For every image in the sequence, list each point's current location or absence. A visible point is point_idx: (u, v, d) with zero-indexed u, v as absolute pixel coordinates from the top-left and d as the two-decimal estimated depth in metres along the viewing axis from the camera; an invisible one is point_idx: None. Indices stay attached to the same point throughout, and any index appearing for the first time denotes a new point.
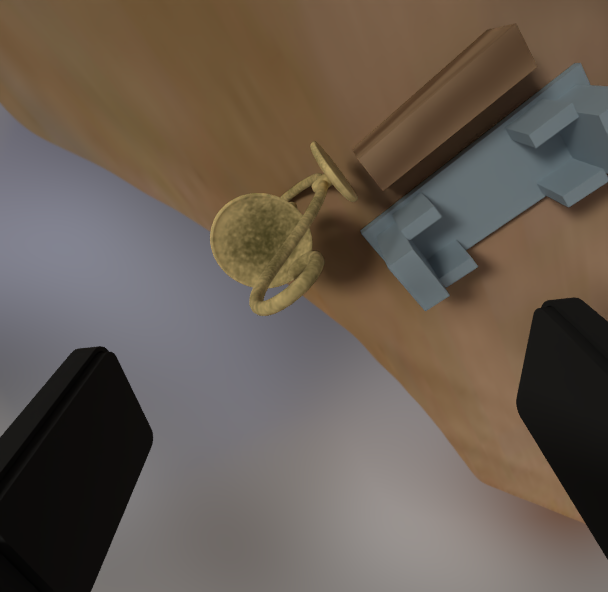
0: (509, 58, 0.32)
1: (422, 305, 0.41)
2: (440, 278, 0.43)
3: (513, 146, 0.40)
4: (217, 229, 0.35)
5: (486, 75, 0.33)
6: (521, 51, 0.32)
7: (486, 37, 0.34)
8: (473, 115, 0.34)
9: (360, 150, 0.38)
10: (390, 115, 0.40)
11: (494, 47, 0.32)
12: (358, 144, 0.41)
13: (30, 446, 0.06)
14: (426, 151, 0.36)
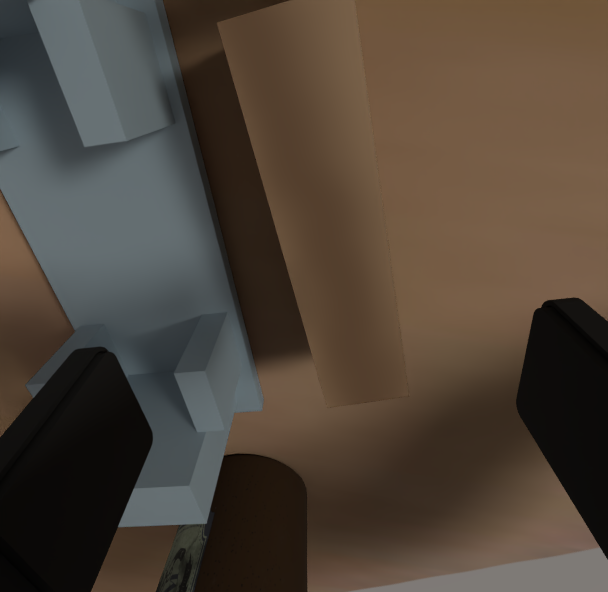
0: (365, 379, 0.18)
1: None
2: None
3: (188, 314, 0.22)
4: None
5: (361, 344, 0.17)
6: (364, 394, 0.18)
7: None
8: (303, 308, 0.16)
9: None
10: None
11: (397, 364, 0.17)
12: None
13: (30, 446, 0.06)
14: (276, 193, 0.14)
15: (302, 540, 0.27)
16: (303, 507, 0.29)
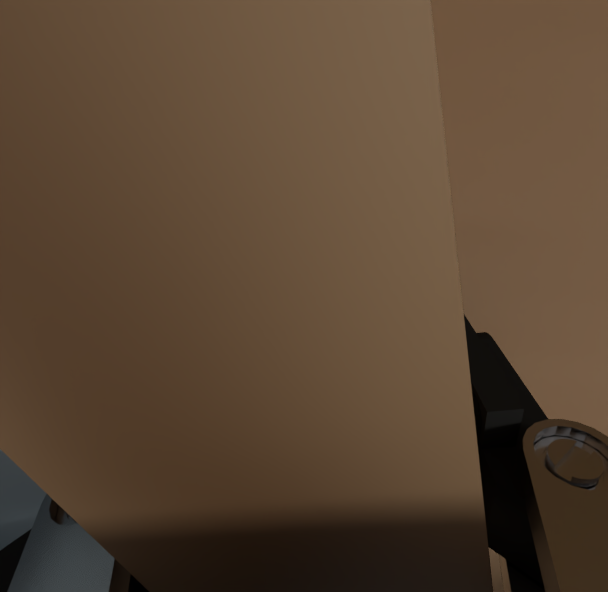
0: None
1: None
2: None
3: None
4: None
5: None
6: None
7: None
8: None
9: None
10: None
11: None
12: None
13: None
14: (104, 512, 0.04)
15: None
16: None
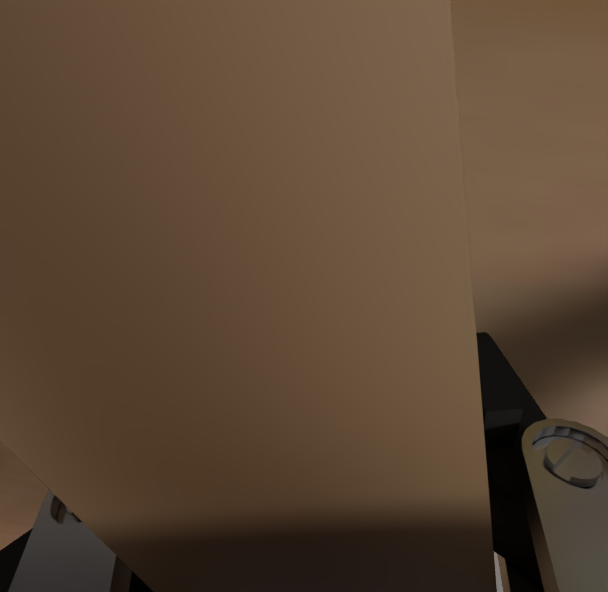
0: None
1: None
2: None
3: None
4: None
5: None
6: None
7: None
8: None
9: None
10: None
11: None
12: None
13: None
14: (107, 509, 0.04)
15: None
16: None
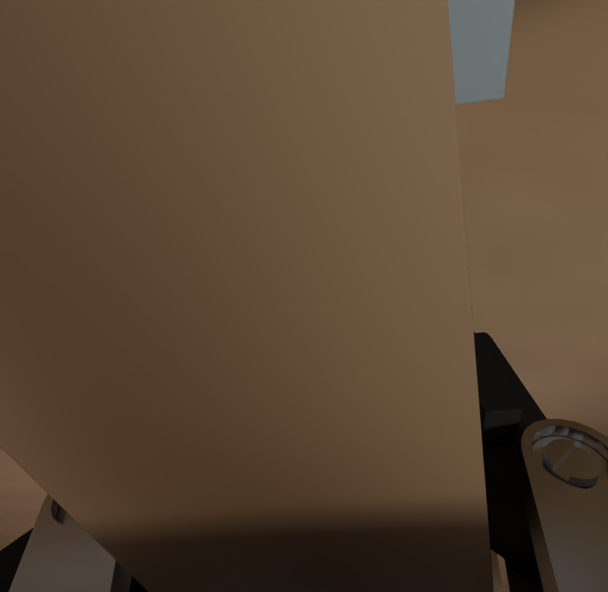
0: None
1: None
2: None
3: None
4: None
5: None
6: None
7: None
8: None
9: None
10: None
11: None
12: None
13: None
14: (102, 508, 0.04)
15: None
16: None
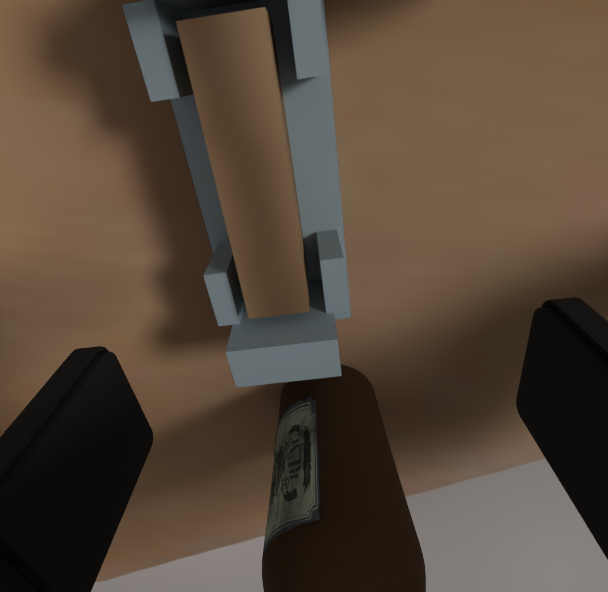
0: (277, 295, 0.24)
1: None
2: (153, 3, 0.17)
3: (305, 231, 0.28)
4: None
5: (274, 266, 0.23)
6: (276, 308, 0.25)
7: (306, 272, 0.27)
8: (231, 233, 0.22)
9: (271, 29, 0.19)
10: None
11: (300, 284, 0.24)
12: (274, 37, 0.22)
13: (30, 446, 0.06)
14: (213, 144, 0.20)
15: (382, 424, 0.34)
16: (377, 404, 0.36)
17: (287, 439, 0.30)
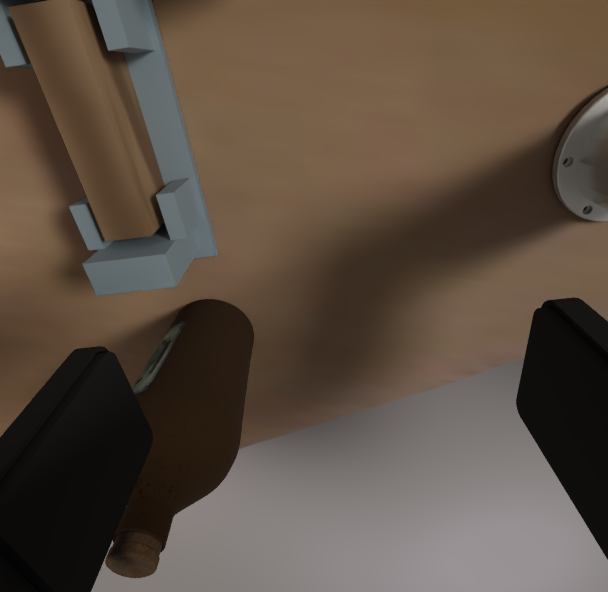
0: (123, 221, 0.31)
1: None
2: None
3: (165, 179, 0.36)
4: None
5: (115, 197, 0.30)
6: (125, 233, 0.32)
7: (160, 210, 0.34)
8: (78, 169, 0.29)
9: (90, 14, 0.26)
10: (131, 84, 0.31)
11: (139, 212, 0.31)
12: None
13: (30, 446, 0.06)
14: (50, 98, 0.27)
15: (245, 346, 0.41)
16: (248, 333, 0.43)
17: (156, 350, 0.38)
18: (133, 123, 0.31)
